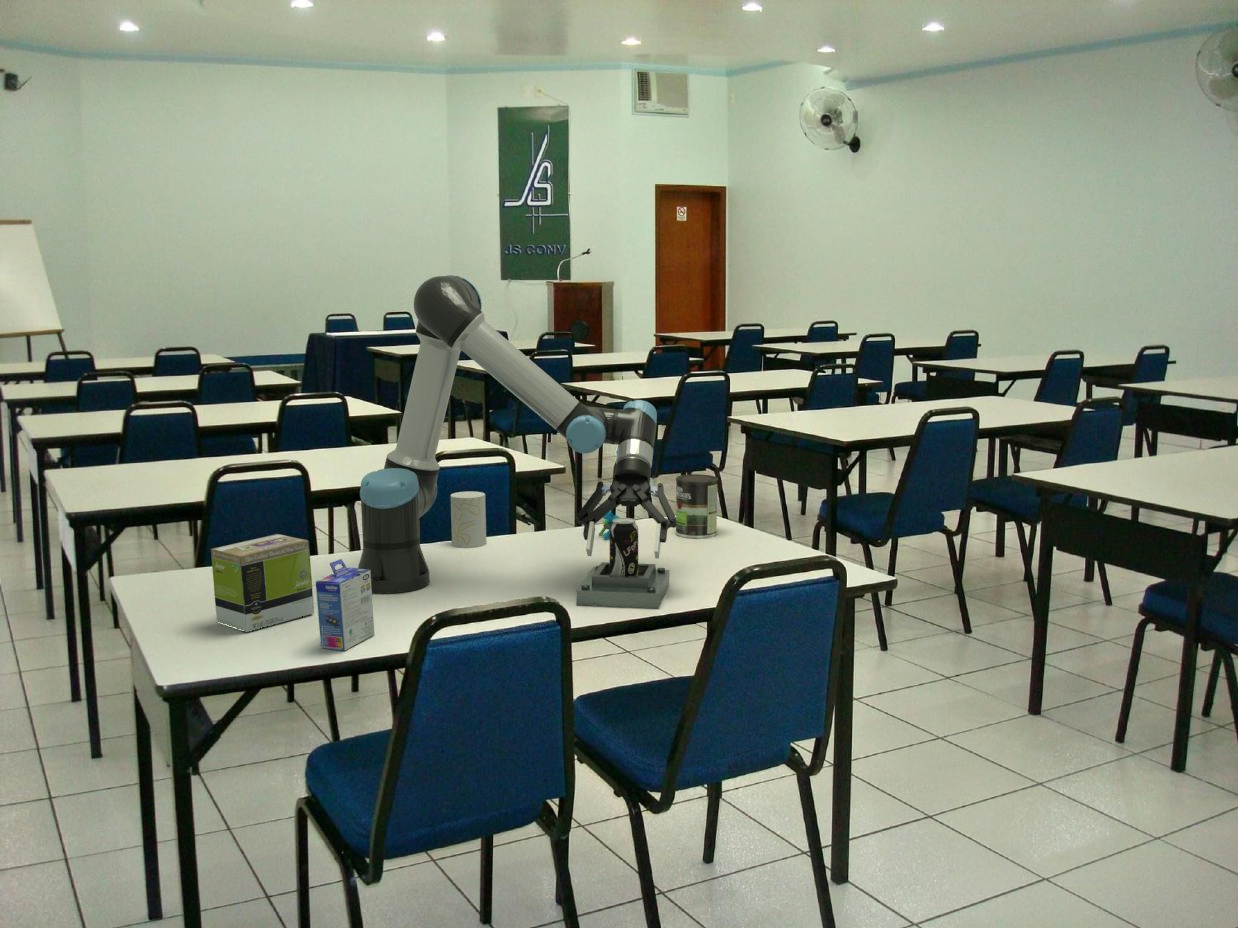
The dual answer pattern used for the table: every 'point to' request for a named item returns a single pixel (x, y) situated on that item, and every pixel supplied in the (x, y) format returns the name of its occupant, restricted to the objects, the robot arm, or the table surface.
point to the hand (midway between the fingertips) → (622, 554)
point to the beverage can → (624, 547)
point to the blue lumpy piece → (607, 524)
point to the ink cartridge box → (345, 607)
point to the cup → (468, 519)
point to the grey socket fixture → (624, 587)
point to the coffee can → (696, 506)
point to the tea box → (262, 581)
